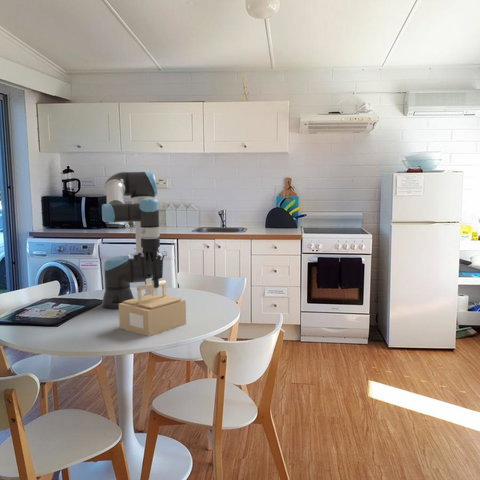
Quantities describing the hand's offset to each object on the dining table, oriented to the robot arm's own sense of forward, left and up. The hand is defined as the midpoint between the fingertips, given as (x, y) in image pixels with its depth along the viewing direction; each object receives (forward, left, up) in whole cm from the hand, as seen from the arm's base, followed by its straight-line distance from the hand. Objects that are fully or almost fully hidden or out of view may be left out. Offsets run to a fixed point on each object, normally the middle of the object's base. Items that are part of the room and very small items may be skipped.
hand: (152, 294), depth 188 cm
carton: (0, 0, -13) cm, 13 cm away
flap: (+4, 0, -3) cm, 5 cm away
